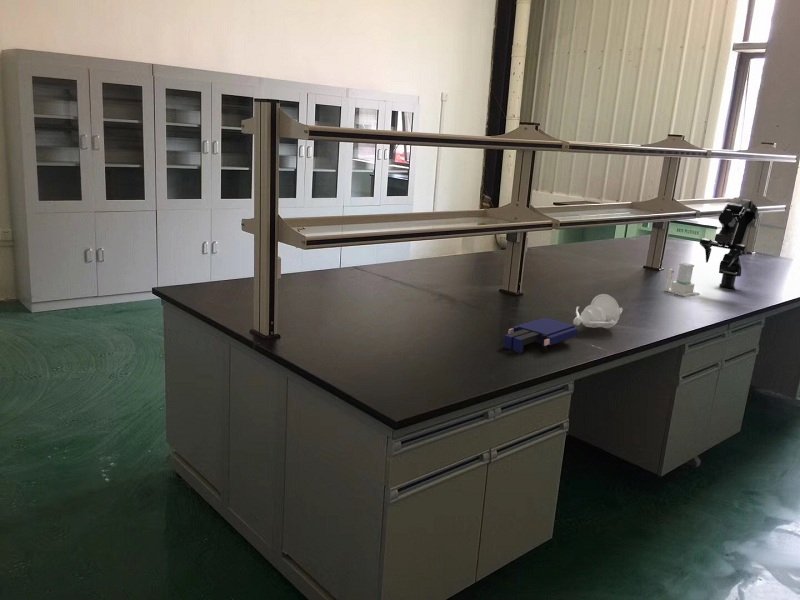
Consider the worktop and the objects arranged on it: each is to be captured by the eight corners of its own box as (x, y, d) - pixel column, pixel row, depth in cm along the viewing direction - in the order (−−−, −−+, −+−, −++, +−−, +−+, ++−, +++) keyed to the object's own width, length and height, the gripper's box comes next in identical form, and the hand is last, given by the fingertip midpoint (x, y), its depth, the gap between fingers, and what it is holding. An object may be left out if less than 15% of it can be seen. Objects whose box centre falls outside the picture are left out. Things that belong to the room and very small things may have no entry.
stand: (678, 288, 302) (682, 267, 299) (699, 294, 293) (703, 272, 290) (663, 290, 296) (667, 268, 294) (684, 296, 288) (688, 274, 285)
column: (680, 290, 297) (685, 262, 294) (689, 292, 294) (694, 265, 290) (674, 291, 295) (679, 263, 292) (682, 293, 292) (688, 265, 288)
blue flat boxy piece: (494, 330, 208) (544, 315, 224) (493, 348, 210) (543, 332, 225) (531, 341, 197) (581, 325, 213) (531, 360, 199) (580, 343, 214)
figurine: (642, 299, 229) (599, 309, 213) (635, 331, 233) (592, 343, 217) (602, 285, 241) (558, 294, 226) (595, 316, 245) (552, 327, 229)
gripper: (702, 222, 291) (691, 255, 290) (747, 229, 279) (736, 264, 279) (707, 229, 299) (697, 262, 299) (752, 236, 287) (741, 270, 287)
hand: (717, 264), depth 291 cm, fingers open, 9 cm apart
